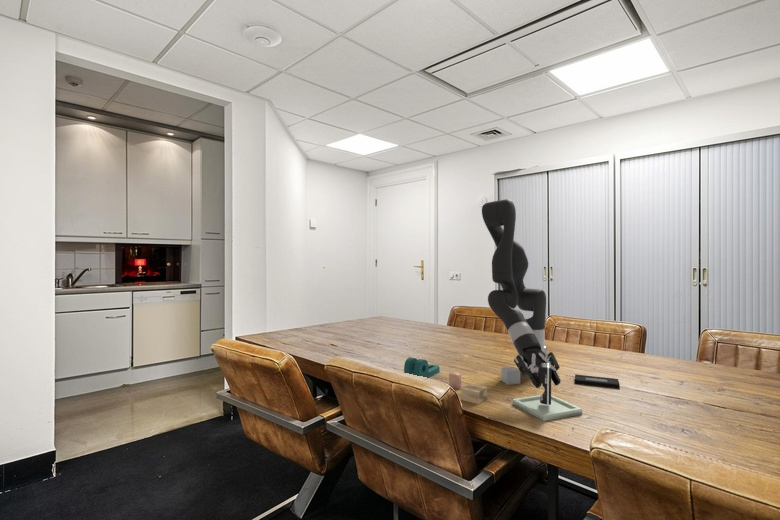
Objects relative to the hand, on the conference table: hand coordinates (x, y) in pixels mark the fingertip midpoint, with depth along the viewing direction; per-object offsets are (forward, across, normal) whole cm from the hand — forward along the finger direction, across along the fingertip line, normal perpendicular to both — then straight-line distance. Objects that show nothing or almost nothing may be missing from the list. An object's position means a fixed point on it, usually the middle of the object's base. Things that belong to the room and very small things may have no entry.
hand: (548, 385), depth 122 cm
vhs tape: (-5, +34, +17) cm, 39 cm away
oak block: (-6, -16, +17) cm, 24 cm away
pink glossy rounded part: (-15, -16, +26) cm, 34 cm away
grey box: (-14, +6, +25) cm, 29 cm away
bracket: (-27, -20, +39) cm, 52 cm away
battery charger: (+3, 0, +5) cm, 6 cm away
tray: (+4, 0, +6) cm, 8 cm away
